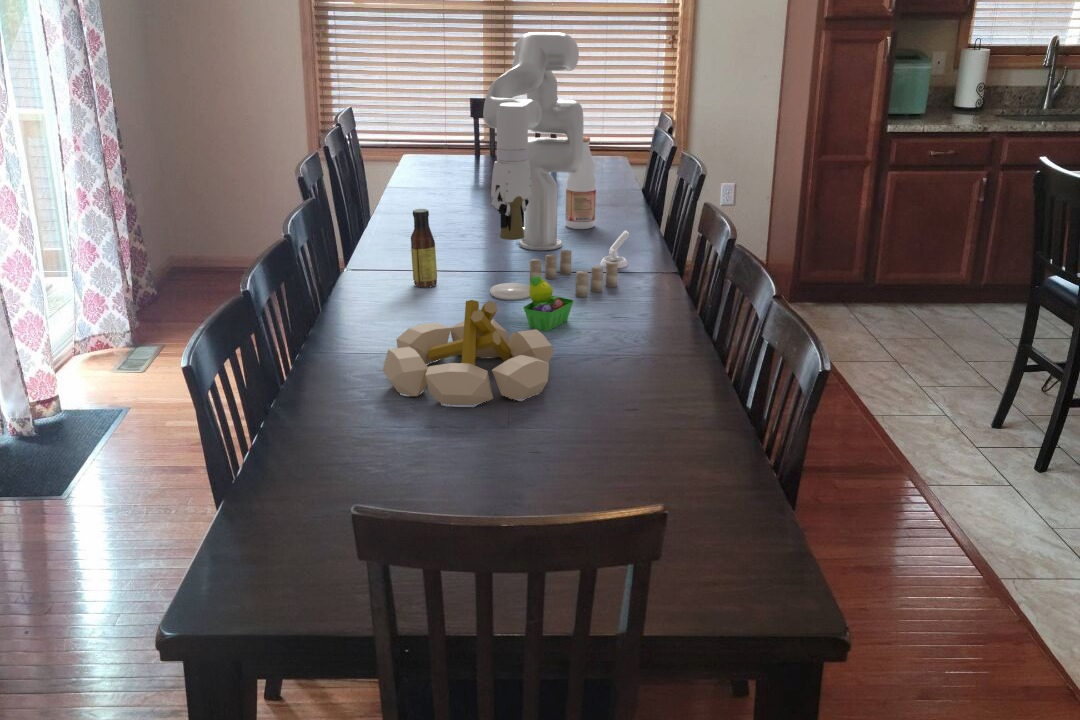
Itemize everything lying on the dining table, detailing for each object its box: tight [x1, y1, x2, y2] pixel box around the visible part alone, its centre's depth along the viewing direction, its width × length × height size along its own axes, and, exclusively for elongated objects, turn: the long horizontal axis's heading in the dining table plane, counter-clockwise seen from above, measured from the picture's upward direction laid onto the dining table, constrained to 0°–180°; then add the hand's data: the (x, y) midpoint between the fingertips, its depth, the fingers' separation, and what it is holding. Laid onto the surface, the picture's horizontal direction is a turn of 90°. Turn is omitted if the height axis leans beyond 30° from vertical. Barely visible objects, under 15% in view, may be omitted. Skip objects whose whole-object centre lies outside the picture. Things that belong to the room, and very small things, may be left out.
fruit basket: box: [523, 276, 574, 332], centre depth 244 cm, size 11×9×11 cm
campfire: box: [382, 299, 555, 405], centre depth 212 cm, size 35×34×17 cm
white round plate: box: [489, 282, 530, 301], centre depth 268 cm, size 11×11×1 cm
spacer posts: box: [529, 249, 619, 298], centre depth 275 cm, size 19×15×6 cm
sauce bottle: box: [410, 208, 438, 288], centre depth 270 cm, size 7×6×20 cm
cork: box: [499, 196, 524, 241], centre depth 260 cm, size 6×6×11 cm
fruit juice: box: [565, 135, 597, 230], centre depth 328 cm, size 9×9×28 cm
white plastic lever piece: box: [600, 230, 630, 269], centre depth 292 cm, size 8×12×7 cm
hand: (512, 227), depth 262 cm, fingers closed on cork, 3 cm apart
